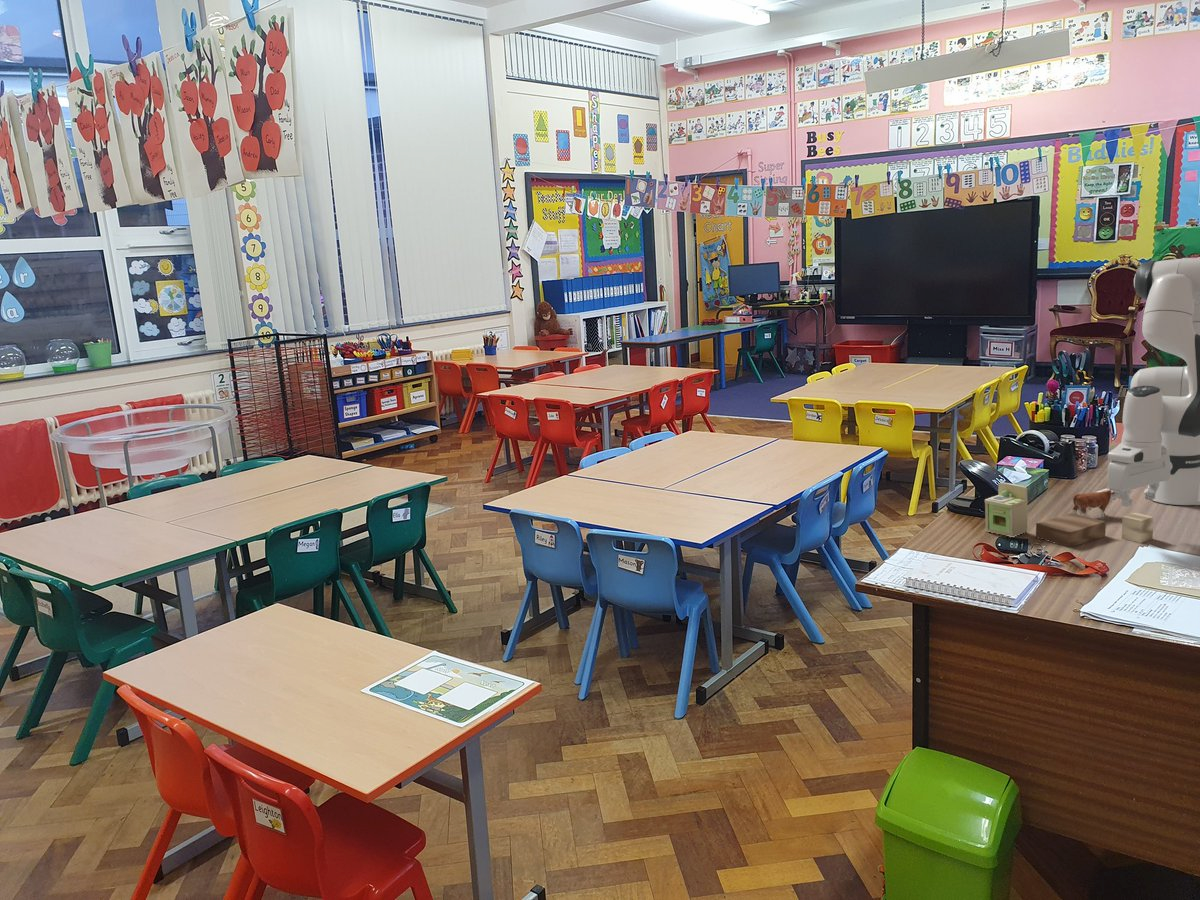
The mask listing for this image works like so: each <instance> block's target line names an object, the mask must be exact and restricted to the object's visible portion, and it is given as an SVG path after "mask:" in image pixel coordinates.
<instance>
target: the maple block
mask: <svg viewBox="0 0 1200 900" xmlns="http://www.w3.org/2000/svg"><path fill="white" fill-rule="evenodd" d="M1154 517H1155V516H1151V515H1145V514H1142V513H1138V512H1132V513H1129V514H1127V515H1124V516H1122V518H1121V519H1122V520H1121V539H1124V540H1127V541H1131V542H1135V543H1139V544H1140V543H1145V542H1147V541H1151V540H1153V539H1154V537H1153V536H1154Z"/></svg>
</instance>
